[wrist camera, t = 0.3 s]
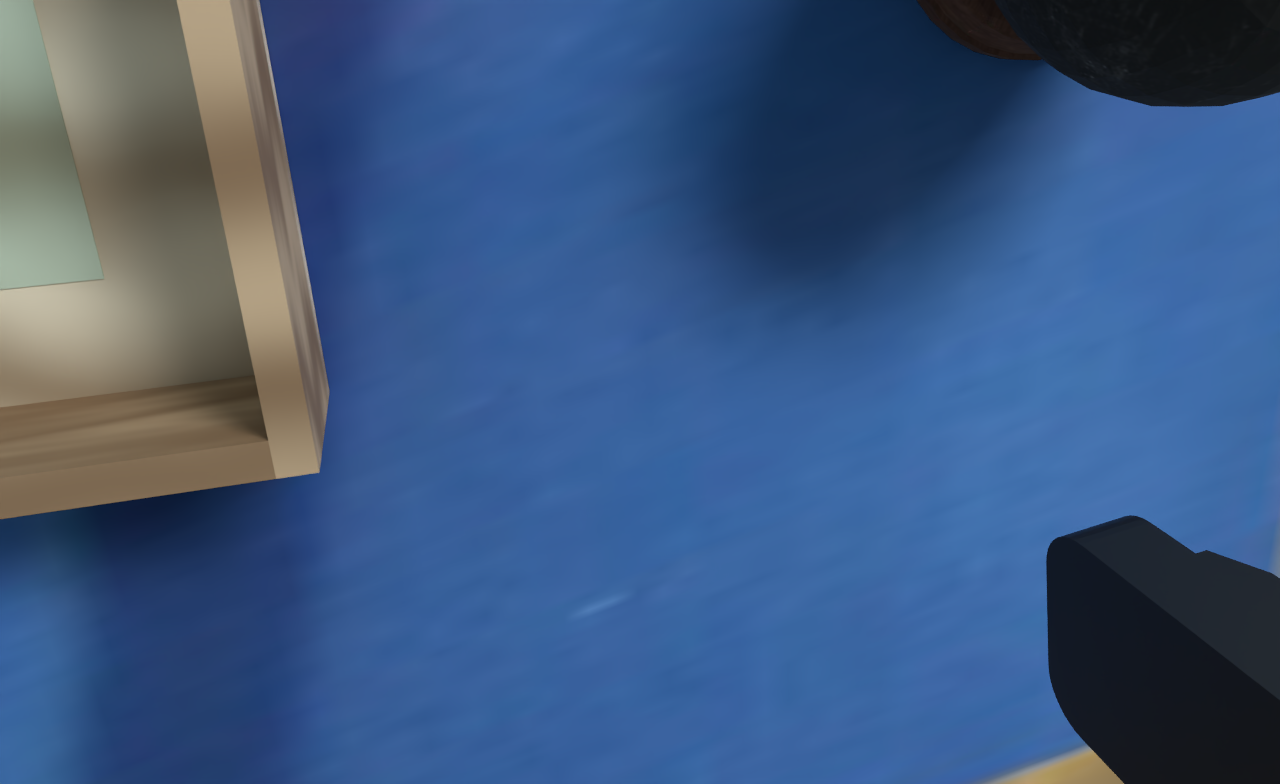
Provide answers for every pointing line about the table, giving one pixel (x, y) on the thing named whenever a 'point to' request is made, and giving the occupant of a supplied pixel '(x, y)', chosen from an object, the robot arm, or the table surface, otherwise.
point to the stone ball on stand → (1131, 44)
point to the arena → (148, 258)
